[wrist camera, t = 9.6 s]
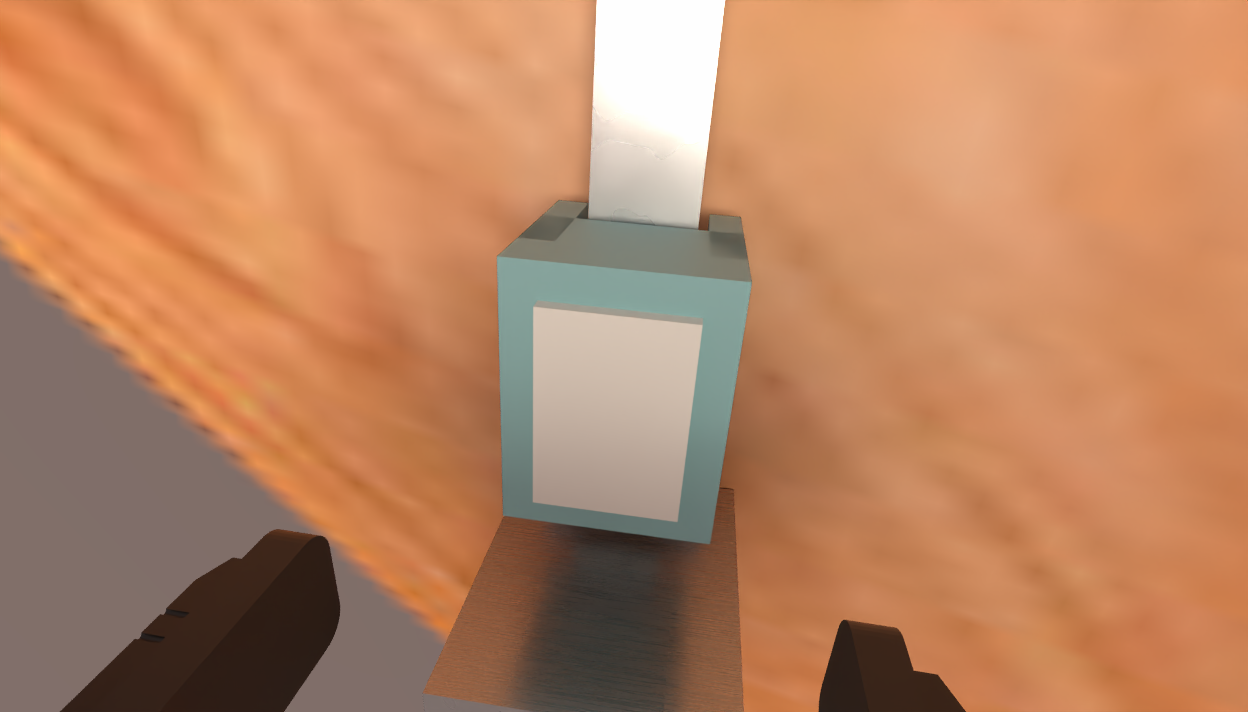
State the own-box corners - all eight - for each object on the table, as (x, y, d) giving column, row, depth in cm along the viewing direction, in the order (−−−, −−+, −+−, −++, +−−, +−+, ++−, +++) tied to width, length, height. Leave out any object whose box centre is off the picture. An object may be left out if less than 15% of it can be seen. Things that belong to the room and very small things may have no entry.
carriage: (740, 217, 18) (752, 288, 13) (710, 422, 21) (709, 555, 16) (558, 200, 19) (491, 261, 13) (555, 403, 22) (498, 525, 16)
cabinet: (733, 489, 24) (745, 746, 15) (707, 638, 27) (705, 919, 18) (510, 460, 25) (396, 688, 16) (513, 608, 28) (419, 864, 19)
